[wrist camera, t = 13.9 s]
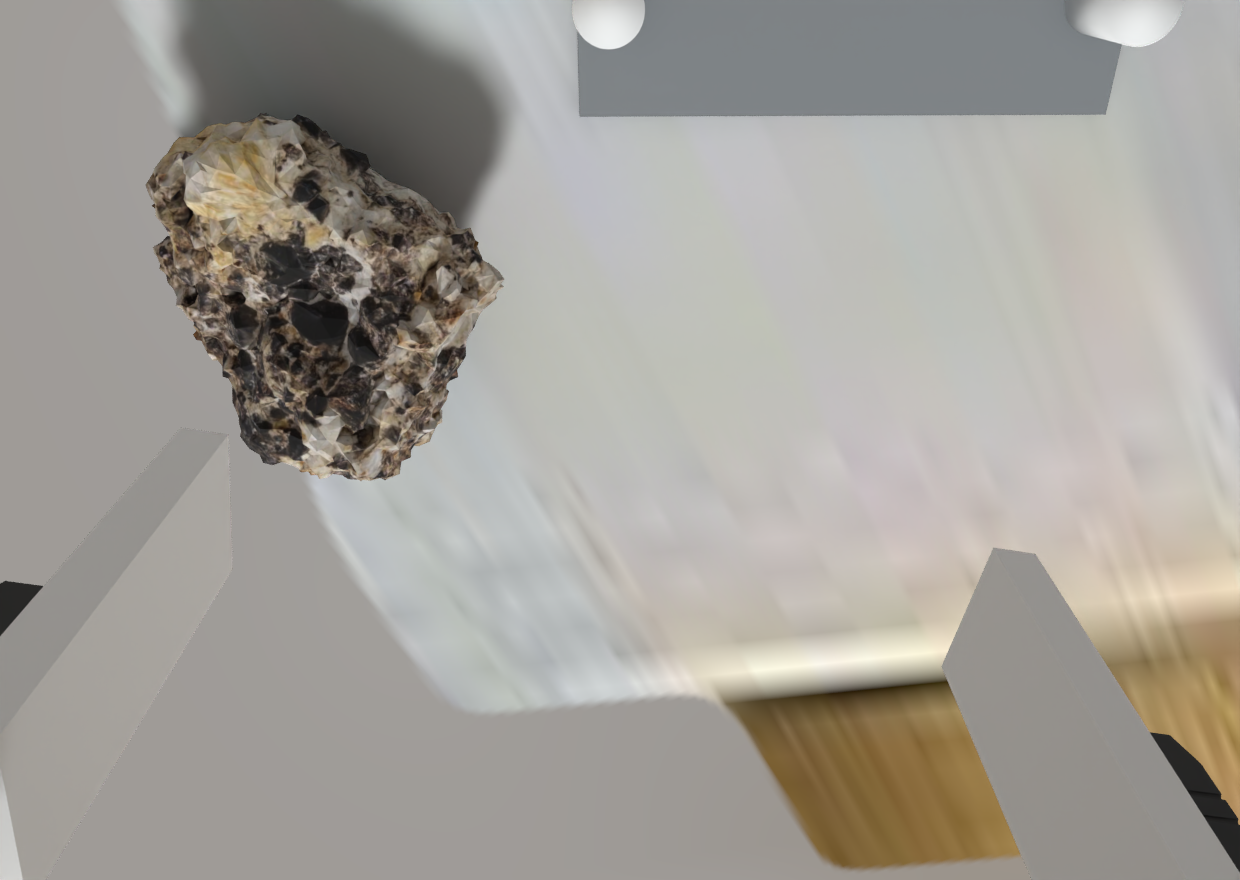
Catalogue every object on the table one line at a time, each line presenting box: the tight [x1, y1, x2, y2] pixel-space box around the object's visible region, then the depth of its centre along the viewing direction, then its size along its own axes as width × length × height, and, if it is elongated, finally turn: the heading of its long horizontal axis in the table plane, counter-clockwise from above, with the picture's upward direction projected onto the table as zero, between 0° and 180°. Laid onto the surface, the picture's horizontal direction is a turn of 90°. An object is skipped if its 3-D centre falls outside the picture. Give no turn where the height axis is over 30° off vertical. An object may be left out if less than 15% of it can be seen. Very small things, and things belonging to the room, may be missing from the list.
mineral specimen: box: [146, 113, 504, 481], centre depth 46 cm, size 16×18×10 cm
